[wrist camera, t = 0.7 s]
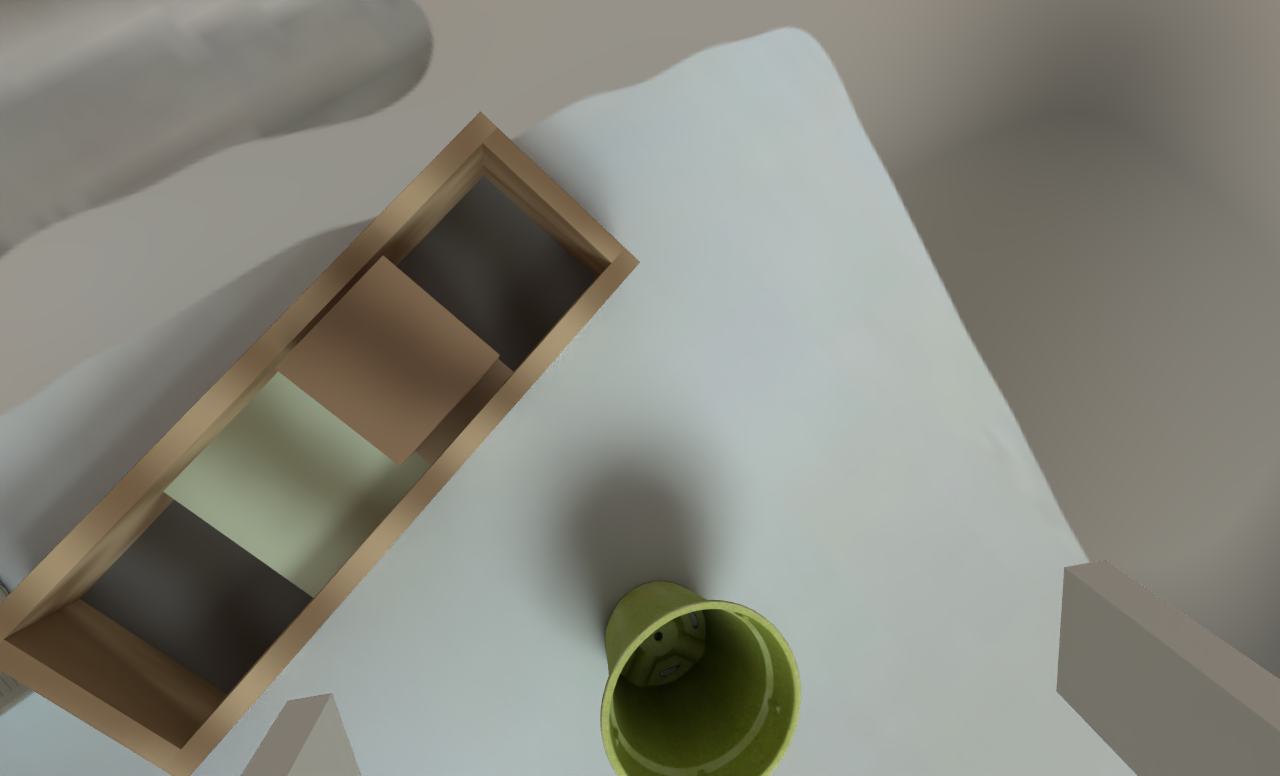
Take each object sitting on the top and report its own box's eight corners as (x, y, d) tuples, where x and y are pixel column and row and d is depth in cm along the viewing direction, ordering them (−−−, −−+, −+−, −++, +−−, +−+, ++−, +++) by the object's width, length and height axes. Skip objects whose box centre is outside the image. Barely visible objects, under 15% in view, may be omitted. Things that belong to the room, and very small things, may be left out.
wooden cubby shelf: (233, 718, 31) (184, 782, 26) (49, 600, 29) (-41, 645, 24) (619, 278, 35) (640, 262, 30) (481, 151, 33) (480, 111, 28)
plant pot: (549, 594, 34) (569, 665, 26) (698, 524, 36) (761, 568, 28) (610, 741, 35) (648, 854, 27) (752, 664, 37) (828, 747, 29)
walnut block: (414, 452, 30) (400, 466, 25) (311, 370, 28) (274, 368, 24) (498, 358, 30) (499, 354, 26) (400, 275, 29) (383, 255, 24)
